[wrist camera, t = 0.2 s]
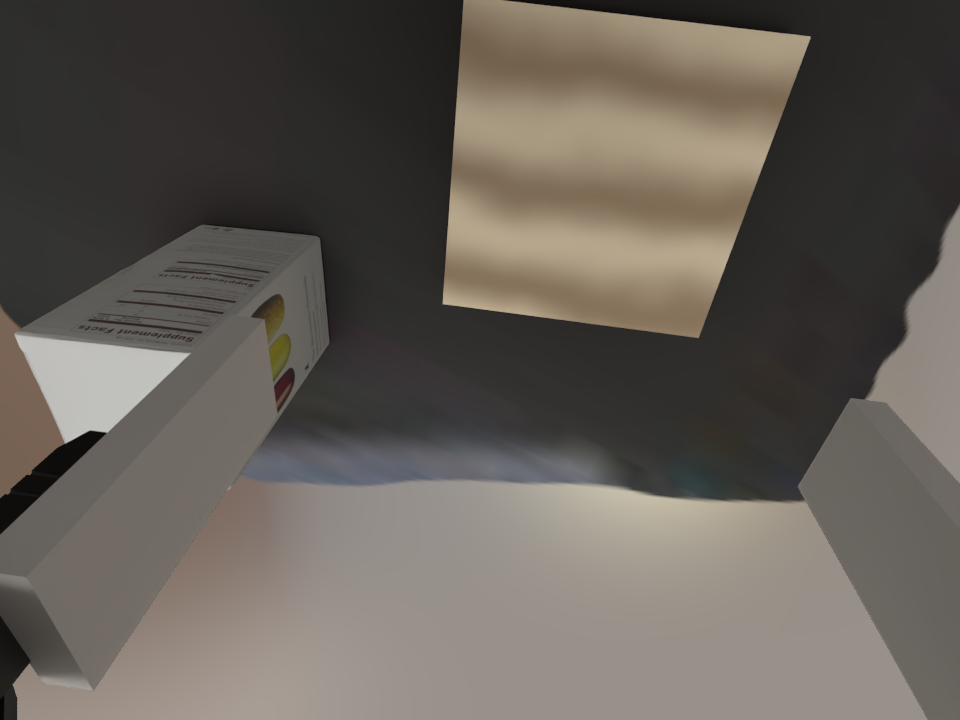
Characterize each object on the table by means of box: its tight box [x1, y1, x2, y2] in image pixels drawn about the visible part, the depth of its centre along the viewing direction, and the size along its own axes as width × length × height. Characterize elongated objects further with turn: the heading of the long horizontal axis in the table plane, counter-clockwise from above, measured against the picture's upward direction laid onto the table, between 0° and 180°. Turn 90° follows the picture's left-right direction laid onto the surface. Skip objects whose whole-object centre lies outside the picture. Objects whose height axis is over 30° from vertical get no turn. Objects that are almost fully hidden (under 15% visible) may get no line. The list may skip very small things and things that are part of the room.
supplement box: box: [14, 225, 329, 490], centre depth 34 cm, size 10×9×17 cm
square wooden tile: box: [443, 0, 811, 338], centre depth 34 cm, size 18×18×3 cm
